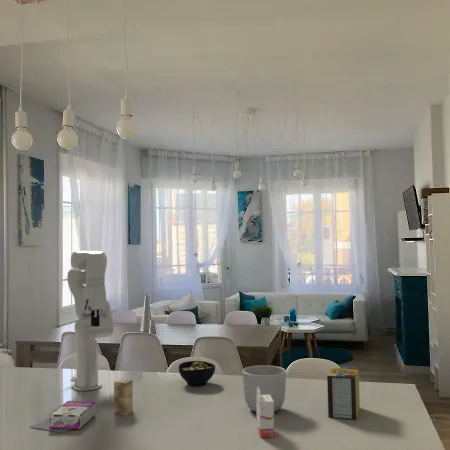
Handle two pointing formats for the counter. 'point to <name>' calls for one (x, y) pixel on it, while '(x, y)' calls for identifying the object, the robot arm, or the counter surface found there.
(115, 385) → the oak block
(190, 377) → the bowl
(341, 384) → the protein box
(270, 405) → the ink cartridge box
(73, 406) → the candy bar box
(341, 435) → the counter surface
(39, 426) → the mat
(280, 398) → the planter
